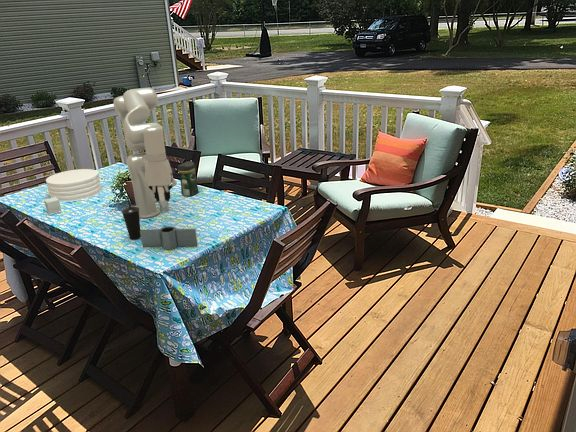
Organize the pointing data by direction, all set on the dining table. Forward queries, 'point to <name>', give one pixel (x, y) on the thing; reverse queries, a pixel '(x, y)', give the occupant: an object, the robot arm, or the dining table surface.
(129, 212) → the drinking cup
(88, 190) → the plate stack
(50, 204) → the product box
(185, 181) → the coffee jar
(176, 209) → the dining table surface
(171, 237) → the hinge
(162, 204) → the hinge pin
